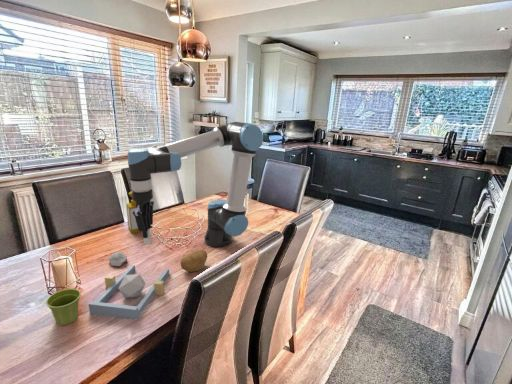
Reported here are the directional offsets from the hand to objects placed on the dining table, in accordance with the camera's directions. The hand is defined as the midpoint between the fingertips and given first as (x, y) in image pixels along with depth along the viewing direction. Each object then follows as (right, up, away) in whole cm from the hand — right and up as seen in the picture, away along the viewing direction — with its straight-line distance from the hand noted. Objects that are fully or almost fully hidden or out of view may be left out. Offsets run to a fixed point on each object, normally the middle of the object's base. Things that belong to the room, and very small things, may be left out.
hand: (147, 243), depth 116 cm
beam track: (-3, -17, -6) cm, 19 cm away
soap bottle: (-22, 0, +46) cm, 51 cm away
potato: (+17, -14, +10) cm, 24 cm away
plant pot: (-18, -22, -22) cm, 36 cm away
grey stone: (-18, -11, +12) cm, 24 cm away
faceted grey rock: (-2, -18, -9) cm, 20 cm away
